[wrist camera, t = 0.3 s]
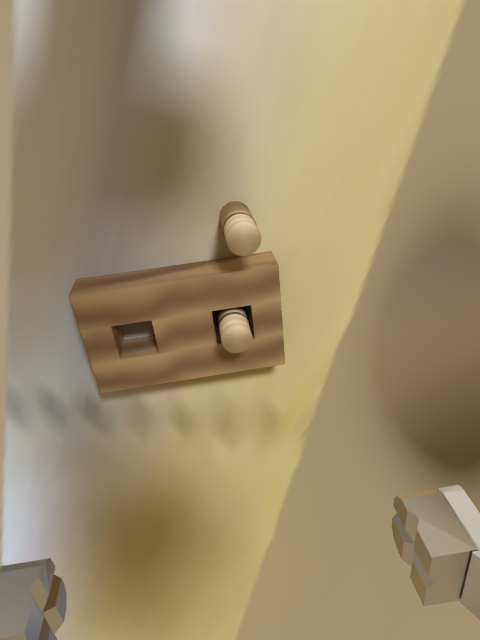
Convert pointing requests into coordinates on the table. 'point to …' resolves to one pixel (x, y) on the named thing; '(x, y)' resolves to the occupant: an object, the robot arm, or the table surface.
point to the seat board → (178, 320)
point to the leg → (239, 229)
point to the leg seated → (234, 329)
